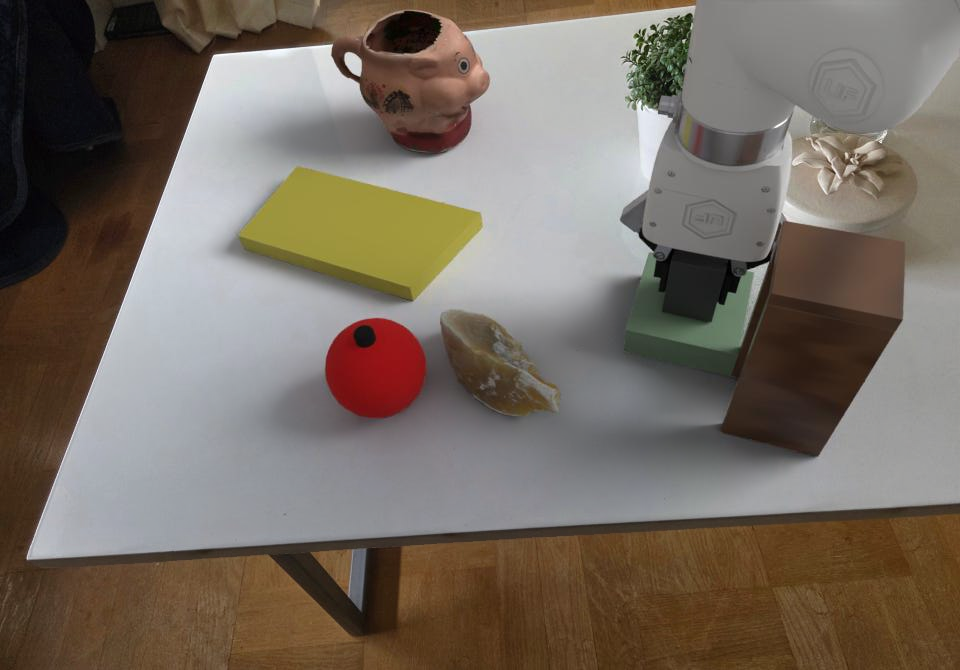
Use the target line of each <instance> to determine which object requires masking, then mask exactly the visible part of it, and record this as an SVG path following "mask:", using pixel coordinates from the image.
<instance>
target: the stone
mask: <svg viewBox="0 0 960 670" xmlns="http://www.w3.org/2000/svg"><path fill="white" fill-rule="evenodd" d="M439 324H440V331H441V337H442V342H443V346H444V349H445V353H446V354H447V358H448V361H449V363H450V366H451V368H452V370H453V372H454V374H455V377H456V380H457V381H458V383H460V384H462V385H463V386H464V388H465V389H466V390H467V391H468V392H469V393H470V394H471V395H472V396H473V397H474V398H475V399H476V400H478V401H480V402H481V403H482V404H483V405H485V406H486V407H488V408H489V409H490V410H493V411H495V412H497V413H498V414H501V415H505V416H513V417H525V418H526V417H528V416H529V415H530V414H531V413H532V412H534V411H540V412H541V411H545V412H549V413H553V414H557V413H559V408H560V401H561V395H562V394H561V391H560V389H559V386H558V385H557V384H553V383H550V382H548V381H545V380H544V378H543V377H541V376H539V374H538V371H537V370H538V369H537V366H536V364H535V362H534V361H533V360H531V359H530V358H529V357H528V356H527V354H526V353H525V352H524V351H523V347H522V346H523V345H522V343H520V342H519V341H518V340H516V339H515V338H514V337H512V336H511V335H510V334H509V333H508V332H507V329H506V328H505V327H503V325H501V324H500V323H499V322H497V321H496V320H495V319H493V318H491V317H489V316H487V315H486V314H484V313H477V312H470V311H467V310H465V309H454V308H453V309H449V310H445V311H442V312H441V314H440V317H439Z"/></svg>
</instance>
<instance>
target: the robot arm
mask: <svg viewBox="0 0 960 670" xmlns="http://www.w3.org/2000/svg"><path fill="white" fill-rule="evenodd" d="M691 25H692V27H691V32H690V37H689V38H690V39H689V45H688V50H687V58H686V62H685V63H686V64H685V71H684V76H683V84H682V88H681V91H680V90H679V91H678V93H677V95H675V94H672V95H671V96H669V95H661V96H660V99H659V103H658V108H657V115H661V116H667V118H668V119H672V120H671V121H670V123H669V124H668V126H667V129H666V130H665V132H664V135H663V136H662V139H661V141H660V143H659V147H658V150H657V152H656V157H655V160H654V162H653V166H652V171H651V174H650V175H651V176H650V181H649V185H648V188H647V190H645V191H644V192H643V193H641V194H640V195H639V196H638V197H636V198H635V199H633V200H632V201H631V202H629V203H628V204H627V205H626V206H624V207H623V208H622V211H621V215H620V219H619V221H620V222H621V223H622V224H623V225H624V226H625V227H627V228H628V229H629V230H630V231H632V232H633V233H636V234H638V238H639V239H640V240H641V241H642V242H643V243H644V245H646V246H647V247H648V248H649V249H650V250H651V251H652V253H653V257H654V258H655V259H656V264H655V270H654V277H657V278H660V284H659V290H658V291H659V292H663V293H664V291H666V286H667V281H668V275H669V270H670V264H671V260H672V256H673V252H674V249H679V250H684V251H689V252H694V253H699V254H704V255H710V256H715V257H720V258H726V259H729V260H728V264H727V269H726V273H725V277H724V280H723V284H722V287H721V291H720V294H719V298H718V301H717V302H718V303H719V304H720V305H725V301H726V298H727V294H728V292H730V293H735V294H736V292H737V288H738V285H739V282H740V279H741V277H742V276H745V275H746V273H747V271H749V270H752V269H755V268H757V267H760V266H763V265H765V264H769V261H770V258H771V256H772V253H773V250H774V247H775V244H776V241H777V238H778V235H779V232H780V229H781V226H782V223H783V221H788V219H787V218H786V216H785V215H784V213H783V210H784V206H785V202H786V198H787V195H788V189H789V185H790V180H791V172H792V165H793V164H792V163H793V138H792V135H791V133H790V132H789V127H790V124H791V121H792V116H793V114H794V111H795V107H796V106H797V107H798V108H800V109H801V110H803V112H806V113H807V114H809V115H810V116H812V117H813V118H815V119H817V120H818V121H820V122H822V123H824V124H826V125H828V126H830V127H832V128H835V129H837V130H841V131H845V132H848V133H853V134H863V135H866V134H867V135H868V134H877V133H882V132H885V131H888V130H891V129H893V128H895V127H897V126H899V125H901V124H902V123H904V122H905V121H906V120H908V119H910V118H911V116H913V115H914V114H915V113H916V112H917V111H918V110H919V109H920V108H921V107H922V106H923V105H924V104H925V102H926V101H927V100H928V98H929V97H930V95H932V93H933V92H934V90H935V89H936V88H937V86H938V85H939V83H940V82H941V80H943V78H944V76H945V75H946V73H947V72H948V71H949V70H950V69H951V67H952V66H953V64H954V62H956V60H957V59H958V57H959V56H960V0H695V8H694V13H693V20H692V24H691Z"/></svg>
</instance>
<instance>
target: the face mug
mask: <svg viewBox="0 0 960 670" xmlns="http://www.w3.org/2000/svg"><path fill="white" fill-rule="evenodd" d="M330 53H331V54H330V56H331V58H332V61H333V62H334V64H335V67H336V68H337V69H338V71H339V72H340V73H341V75H342V76H344V77H345V78H347V79H350V80H353V81H354V82H355V83H357V84H359V92H360V95H361V97H362V100H363V101H364V103H366V105H367V106H368V107H369V108H370V110H372V111H373V112H374V113H375V114H376V115H377V117H378V118H379V120H380V121H381V123H382V124H383V125H384V126H385V128H386V129H387V131H388V132H389V133H390V135H391V136H392V139H393V140H394V142H395V143H396V144H397V145H399V146H401V147H402V148H405V149H407V150H409V151H413V152H417V153H418V152H419V153H431V154H434V153H435V154H437V153H438V154H439V153H443V152H447V151H449V150H451V149H453V148H455V147H457V146H458V145H459V144H460V143H462V142H463V141H464V140H465V139H466V138H467V136H468V134H469V133H470V131H471V127H472V121H473V120H472V117H473V116H472V108H471V104H472V103H474V102H475V101H476V100H477V99H479V98H480V97H481V96H483V95H485V93H486V92H487V91H488V89H489V87H490V84H491V83H490V82H491V76H490V74H489V73H488V71H487V70H486V69H484V67H483V66H484V65H483V61H482V58H481V57H480V55H479V53H477V52H476V50H475V48H474V46H473V44H472V41H471V40H470V39H469V38H468V36H467V35H466V34H464V33H463V31H462V30H461V29H460V28H459V27H458V25H457V24H456V23H455V22H454V21H452V19H449V18H447V17H443V16H441V15H438V14H435V13H432V12H429V11H425V10H419V9H417V10H416V9H401V10H397V11H393V12H391V13H388V14H386V15H384V16H381V17H380V18H378V19H376V20H375V21H374V22H372V23H371V24H370V25H369V26H368V28H367V29H366V31H365V32H364V34H363V35H355V34H348V35H342V36H340V37H338V38H336V39H335V41H333V43H332V46H331V52H330ZM347 53H352V54H354V55H355V56H356V57H358V58H359V59H360V60H361V71H360V75H357V74H355V73H353V72H352V71H351V70H350V68H349V67H348V65H347V63H346V61H345V60H346V59H345V56H346V54H347Z"/></svg>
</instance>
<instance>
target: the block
mask: <svg viewBox="0 0 960 670" xmlns="http://www.w3.org/2000/svg"><path fill="white" fill-rule="evenodd" d="M728 260H729V259H726V258H720V257H715V256H710V255H704V254H699V253H694V252H689V251H684V250H679V249H674V252H673V256H672V260H671V264H670V270H669V275H668V281H667V286H666V291H665V297H664V302H663V307H662V312H666V313H670V314H675V315H679V316H684V317H689V318H693V319H698V320H702V321H707V322H712V319H713V316H714V312H715V309H716V305H717V301H718V298H719V294H720V291H721V287H722V284H723V280H724V277H725V273H726V269H727V264H728Z"/></svg>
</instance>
